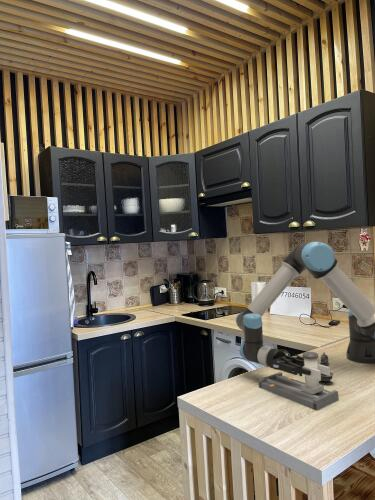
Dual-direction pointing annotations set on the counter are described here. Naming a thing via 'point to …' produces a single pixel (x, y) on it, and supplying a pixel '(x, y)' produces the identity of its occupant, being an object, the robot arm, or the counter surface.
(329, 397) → the console
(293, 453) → the counter surface
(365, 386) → the counter surface
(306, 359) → the fader
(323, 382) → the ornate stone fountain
